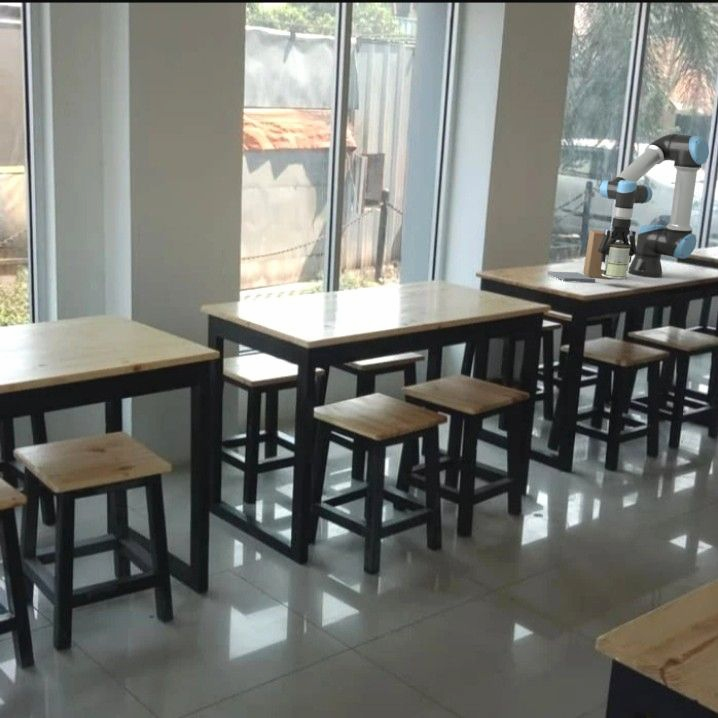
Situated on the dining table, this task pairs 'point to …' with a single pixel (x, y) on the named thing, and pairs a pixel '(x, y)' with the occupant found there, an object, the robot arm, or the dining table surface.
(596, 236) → the wooden block
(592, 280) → the grey mat
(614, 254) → the coffee can
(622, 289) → the dining table surface
